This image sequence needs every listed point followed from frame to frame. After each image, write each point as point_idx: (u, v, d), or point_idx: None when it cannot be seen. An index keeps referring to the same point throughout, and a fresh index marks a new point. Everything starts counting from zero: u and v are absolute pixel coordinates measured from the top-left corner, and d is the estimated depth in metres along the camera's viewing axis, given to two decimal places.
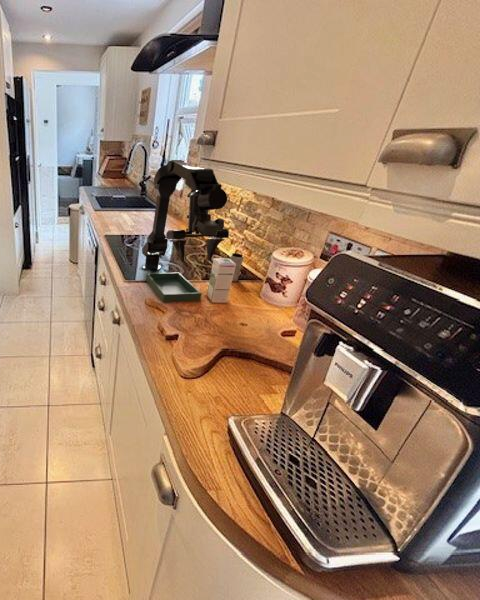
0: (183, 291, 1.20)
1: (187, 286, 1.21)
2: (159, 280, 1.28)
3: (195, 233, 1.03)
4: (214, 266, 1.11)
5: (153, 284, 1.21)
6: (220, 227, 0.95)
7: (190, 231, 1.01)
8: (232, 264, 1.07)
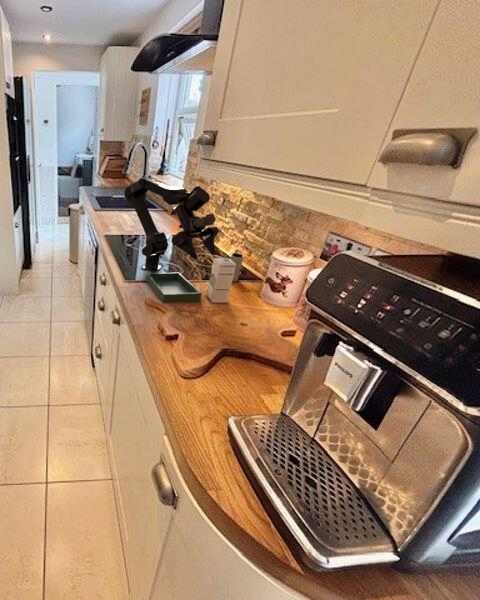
0: (183, 291, 1.20)
1: (187, 286, 1.21)
2: (159, 280, 1.28)
3: (193, 235, 1.17)
4: (214, 266, 1.11)
5: (153, 284, 1.21)
6: (214, 217, 1.12)
7: (189, 233, 1.16)
8: (232, 264, 1.07)
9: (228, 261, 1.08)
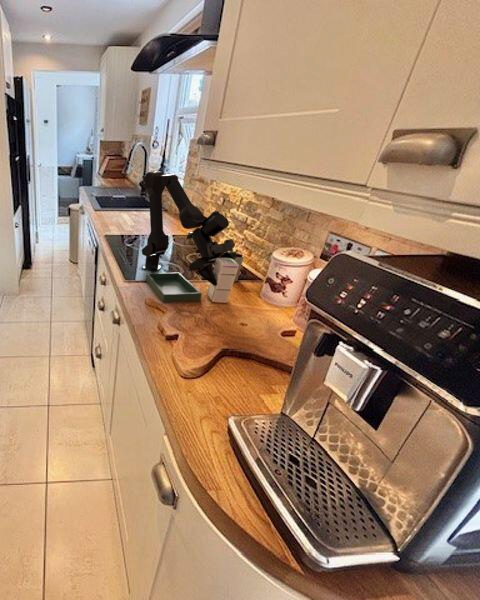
0: (183, 291, 1.20)
1: (187, 286, 1.21)
2: (159, 280, 1.28)
3: (210, 261, 1.13)
4: (217, 266, 1.10)
5: (153, 284, 1.21)
6: (233, 243, 1.08)
7: (207, 259, 1.12)
8: (235, 265, 1.06)
9: (231, 261, 1.07)
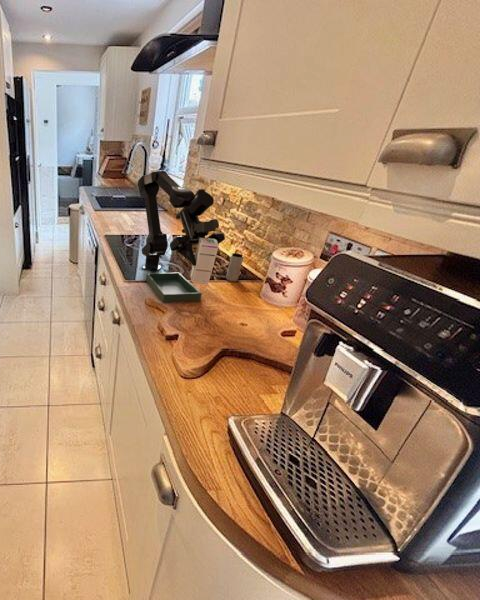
0: (183, 291, 1.20)
1: (187, 286, 1.21)
2: (159, 280, 1.28)
3: (193, 241, 1.11)
4: (198, 245, 1.08)
5: (153, 284, 1.21)
6: (216, 223, 1.05)
7: (190, 238, 1.10)
8: (215, 245, 1.03)
9: (212, 241, 1.05)
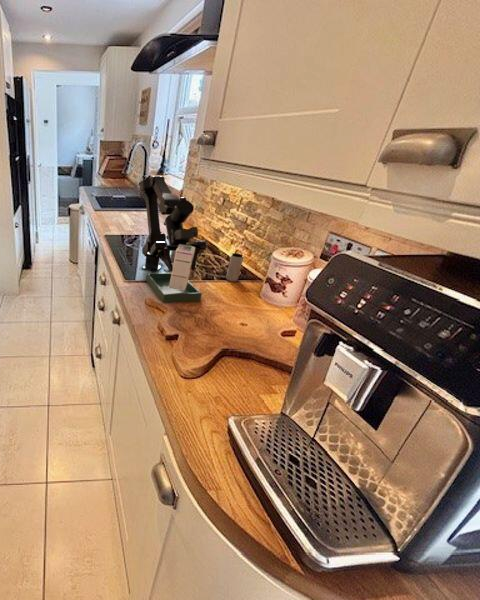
0: (183, 291, 1.20)
1: (187, 286, 1.21)
2: (159, 280, 1.28)
3: (174, 247, 1.14)
4: None
5: (153, 284, 1.21)
6: (194, 231, 1.07)
7: (171, 244, 1.13)
8: (189, 252, 1.06)
9: (188, 249, 1.07)
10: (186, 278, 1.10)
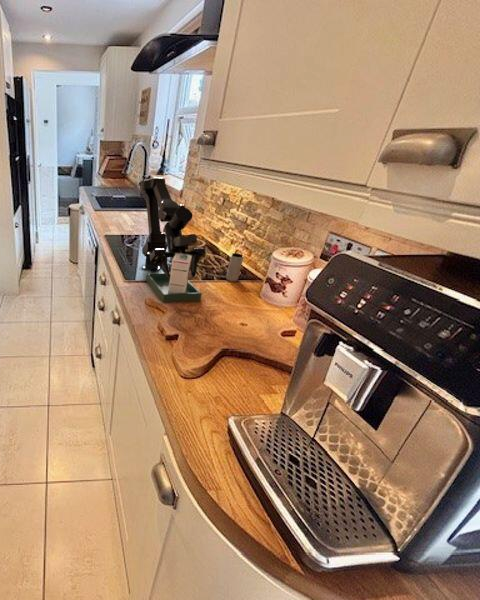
0: None
1: (187, 286, 1.21)
2: (159, 280, 1.28)
3: None
4: None
5: (153, 284, 1.21)
6: (193, 238, 1.08)
7: (170, 251, 1.14)
8: (185, 261, 1.07)
9: (184, 258, 1.09)
10: (184, 286, 1.12)
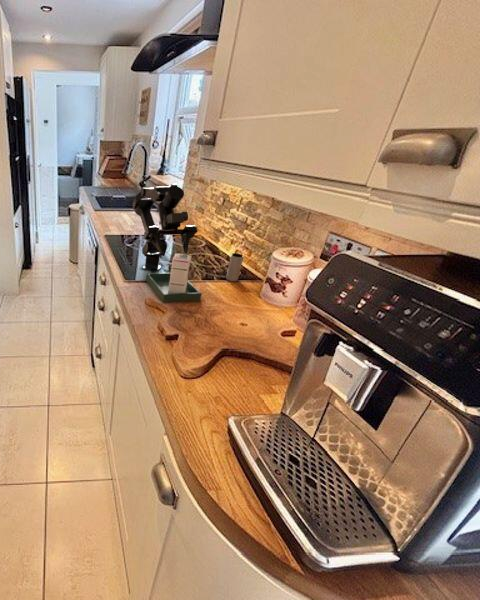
0: None
1: (187, 286, 1.21)
2: (159, 280, 1.28)
3: (168, 231, 1.21)
4: None
5: (153, 284, 1.21)
6: (185, 215, 1.14)
7: (163, 229, 1.20)
8: (186, 260, 1.08)
9: (184, 257, 1.10)
10: (184, 286, 1.12)
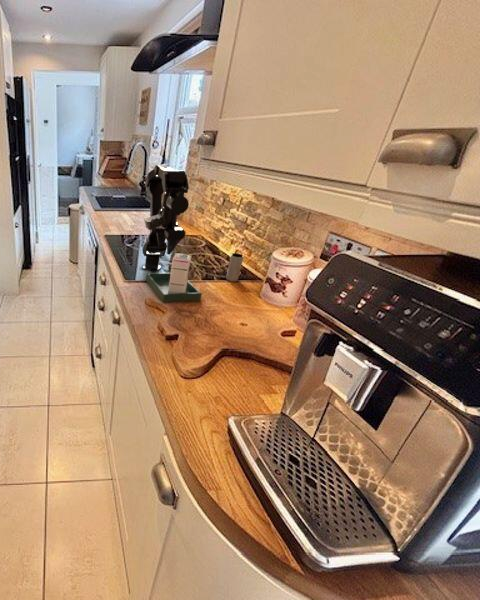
0: None
1: (187, 286, 1.21)
2: (159, 280, 1.28)
3: None
4: None
5: (153, 284, 1.21)
6: (149, 224, 1.14)
7: None
8: (186, 260, 1.08)
9: (184, 257, 1.10)
10: (184, 286, 1.12)
